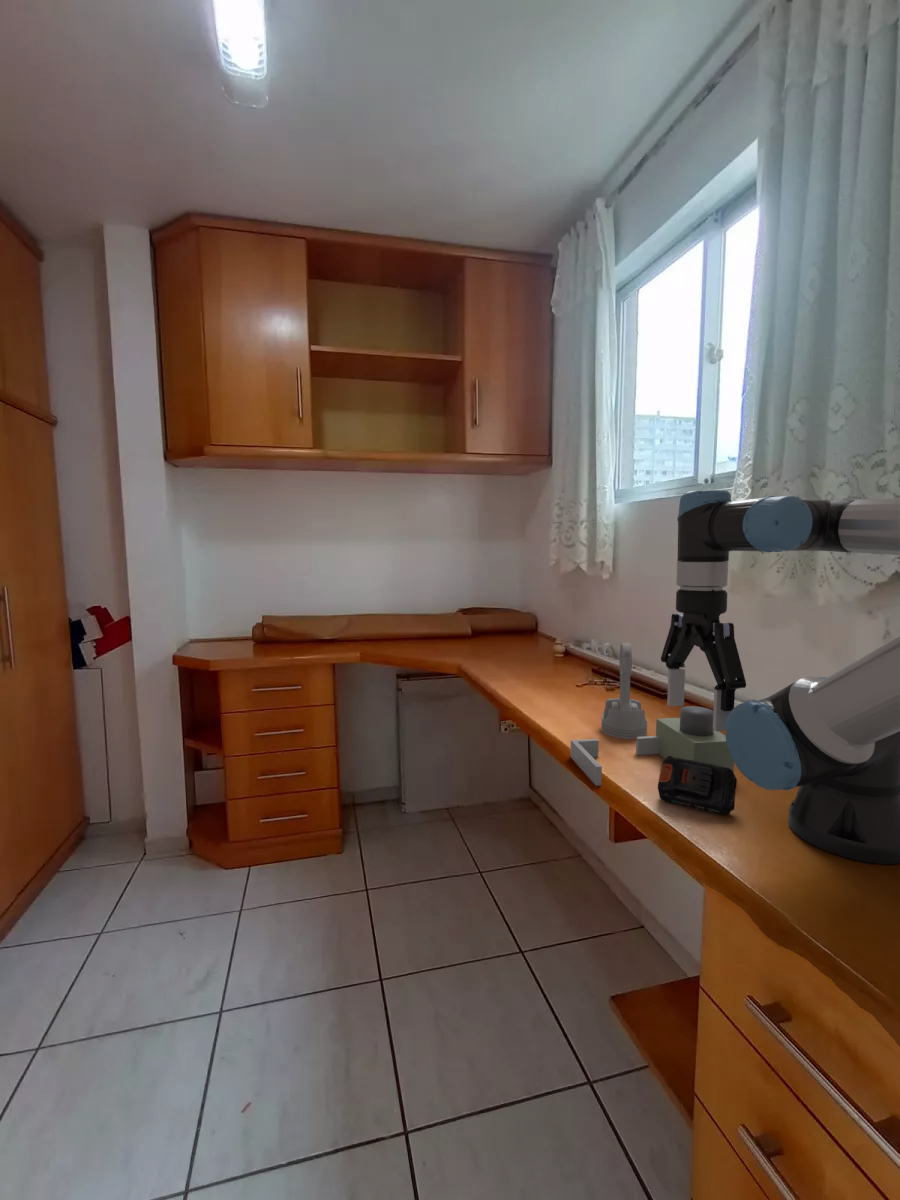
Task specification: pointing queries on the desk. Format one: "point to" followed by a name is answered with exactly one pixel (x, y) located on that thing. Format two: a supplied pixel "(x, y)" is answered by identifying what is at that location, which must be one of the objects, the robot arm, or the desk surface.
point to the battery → (697, 785)
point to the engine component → (624, 705)
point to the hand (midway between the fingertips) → (697, 717)
